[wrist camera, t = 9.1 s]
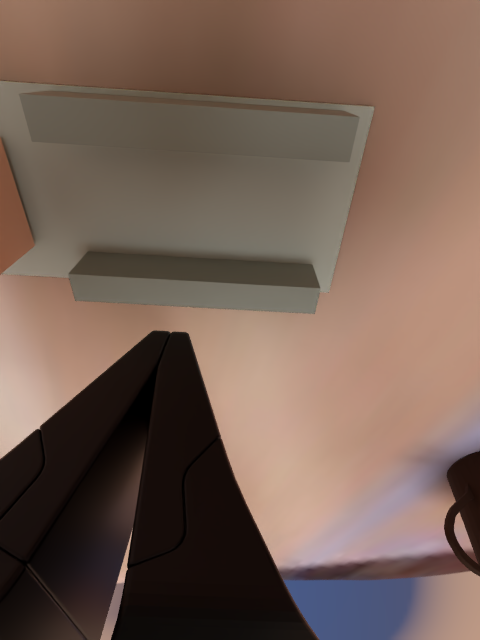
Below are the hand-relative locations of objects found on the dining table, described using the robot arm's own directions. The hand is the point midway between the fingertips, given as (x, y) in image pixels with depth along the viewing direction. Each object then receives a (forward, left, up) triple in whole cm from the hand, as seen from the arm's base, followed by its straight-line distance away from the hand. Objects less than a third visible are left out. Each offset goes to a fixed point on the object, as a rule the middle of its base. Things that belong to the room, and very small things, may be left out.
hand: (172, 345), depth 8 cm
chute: (+3, 0, -11) cm, 11 cm away
